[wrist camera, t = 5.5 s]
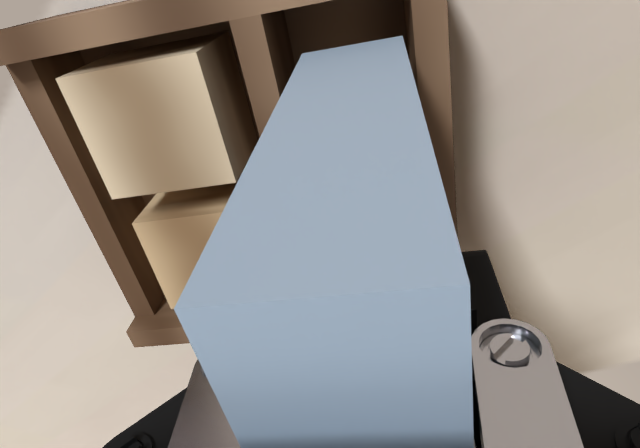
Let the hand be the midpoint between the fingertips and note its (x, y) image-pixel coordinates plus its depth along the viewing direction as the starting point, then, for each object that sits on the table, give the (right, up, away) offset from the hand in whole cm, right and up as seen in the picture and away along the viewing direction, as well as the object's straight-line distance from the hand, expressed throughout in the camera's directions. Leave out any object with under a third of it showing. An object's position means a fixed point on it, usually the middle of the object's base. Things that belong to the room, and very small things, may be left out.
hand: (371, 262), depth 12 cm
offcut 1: (-7, +6, +7) cm, 12 cm away
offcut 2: (-6, +1, +10) cm, 12 cm away
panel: (0, +3, +4) cm, 5 cm away
